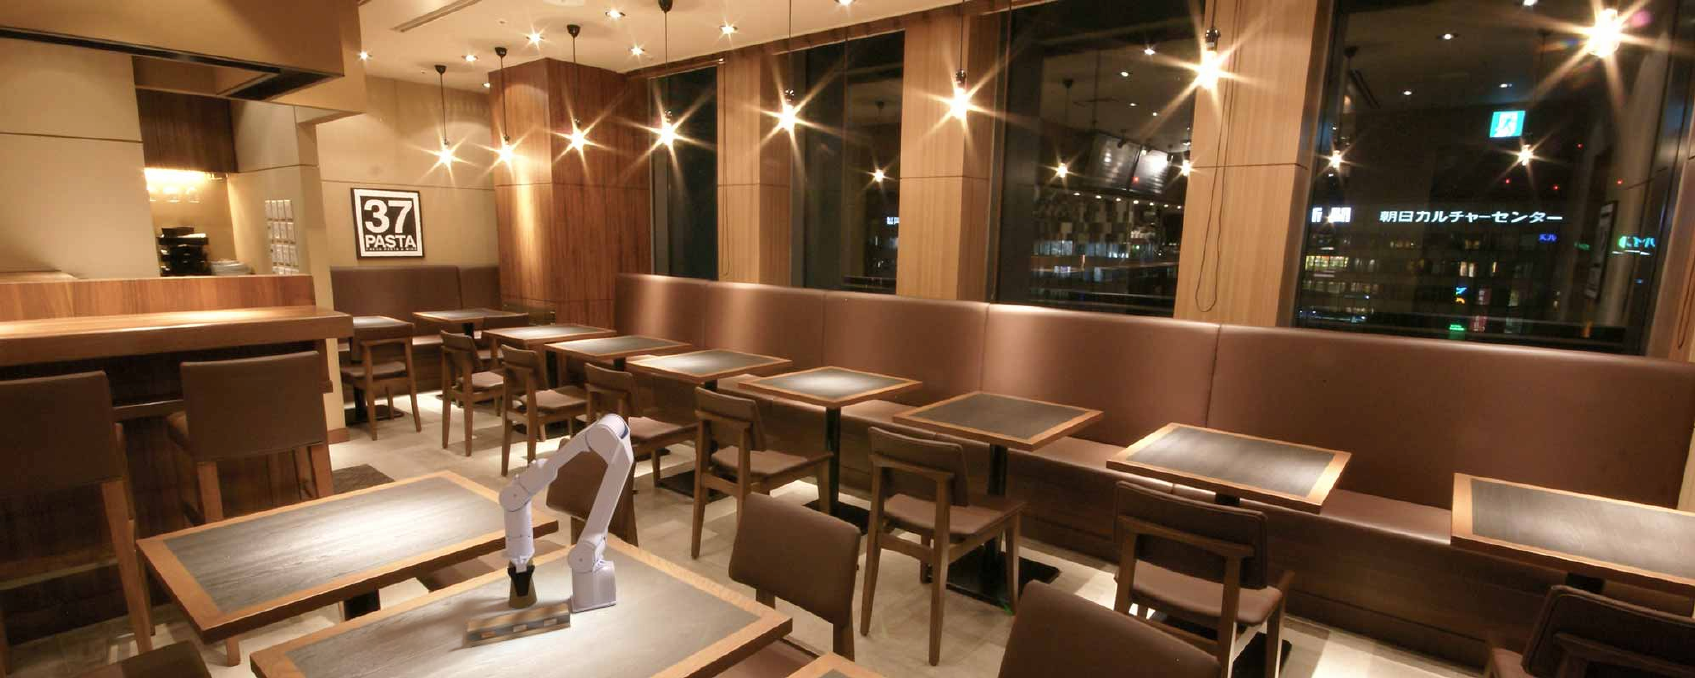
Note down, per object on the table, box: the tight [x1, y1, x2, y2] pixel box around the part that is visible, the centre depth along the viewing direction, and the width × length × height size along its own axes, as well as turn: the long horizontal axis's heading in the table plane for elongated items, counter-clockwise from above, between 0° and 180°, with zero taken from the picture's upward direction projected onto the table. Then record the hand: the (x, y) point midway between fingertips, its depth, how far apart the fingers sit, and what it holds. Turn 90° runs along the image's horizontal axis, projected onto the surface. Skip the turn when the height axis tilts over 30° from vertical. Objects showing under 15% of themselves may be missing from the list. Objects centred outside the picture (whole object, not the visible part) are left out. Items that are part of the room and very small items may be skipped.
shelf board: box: [466, 603, 571, 648], centre depth 161 cm, size 20×9×3 cm, turn 115°
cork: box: [507, 557, 538, 610], centre depth 171 cm, size 6×6×11 cm
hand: (522, 588), depth 171 cm, fingers open, 7 cm apart
